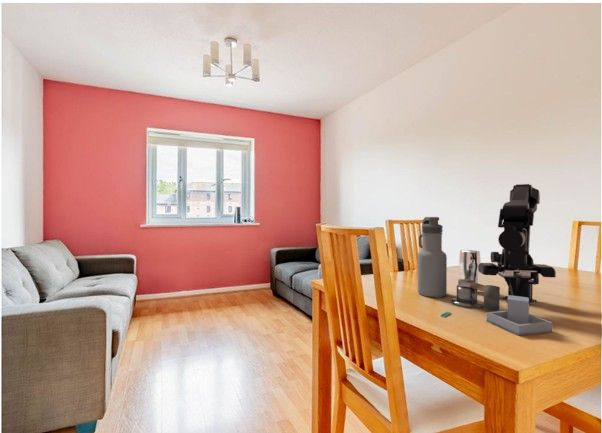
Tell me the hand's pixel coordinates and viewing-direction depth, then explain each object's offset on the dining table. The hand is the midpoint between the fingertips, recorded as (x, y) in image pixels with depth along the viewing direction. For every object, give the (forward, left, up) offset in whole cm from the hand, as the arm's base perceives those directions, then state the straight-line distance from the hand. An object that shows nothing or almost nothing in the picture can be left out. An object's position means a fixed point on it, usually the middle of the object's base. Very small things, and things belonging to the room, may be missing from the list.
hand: (514, 298), depth 95 cm
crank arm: (+8, -5, -3) cm, 10 cm away
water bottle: (+12, -23, -4) cm, 26 cm away
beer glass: (-4, -23, -4) cm, 24 cm away
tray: (+9, +10, -4) cm, 14 cm away
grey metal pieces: (+14, -8, -4) cm, 16 cm away
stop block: (+9, +10, -4) cm, 14 cm away
